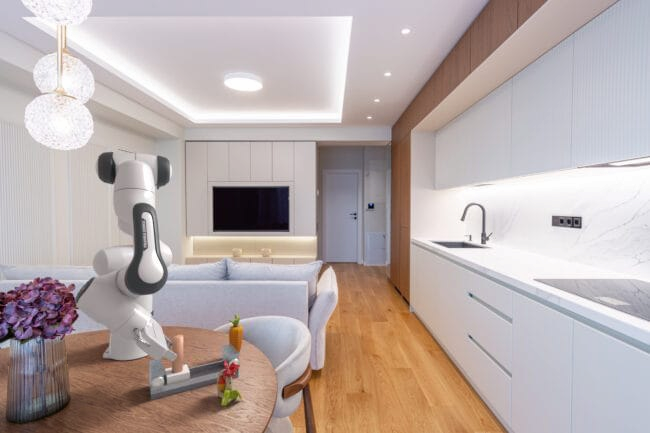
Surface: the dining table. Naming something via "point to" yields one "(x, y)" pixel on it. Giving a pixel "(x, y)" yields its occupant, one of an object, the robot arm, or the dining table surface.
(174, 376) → the carriage
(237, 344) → the carrot
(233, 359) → the rail track
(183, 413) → the dining table surface
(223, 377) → the decorative toy figure
